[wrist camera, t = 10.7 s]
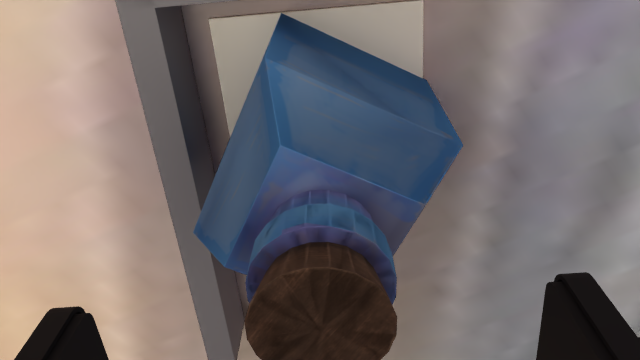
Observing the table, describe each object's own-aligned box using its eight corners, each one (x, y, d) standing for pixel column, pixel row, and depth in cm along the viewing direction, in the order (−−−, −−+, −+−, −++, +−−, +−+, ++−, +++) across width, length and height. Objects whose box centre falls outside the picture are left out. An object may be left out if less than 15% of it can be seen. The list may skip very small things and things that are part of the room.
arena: (519, 302, 26) (541, 347, 24) (221, 321, 27) (210, 366, 24) (565, -80, 18) (606, -76, 16) (137, -40, 19) (107, -29, 16)
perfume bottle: (281, 12, 20) (231, 147, 9) (426, 80, 21) (534, 269, 10) (225, 150, 22) (135, 379, 12) (356, 203, 23) (384, 454, 13)
